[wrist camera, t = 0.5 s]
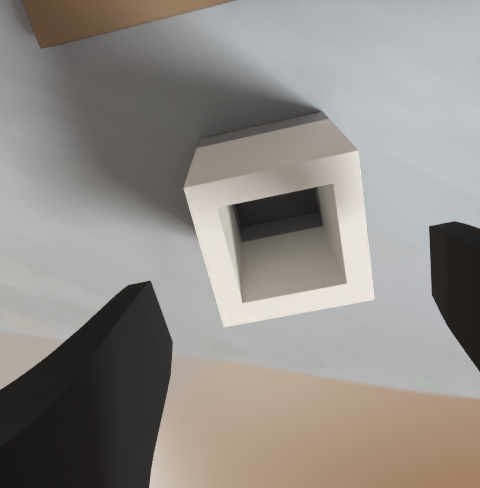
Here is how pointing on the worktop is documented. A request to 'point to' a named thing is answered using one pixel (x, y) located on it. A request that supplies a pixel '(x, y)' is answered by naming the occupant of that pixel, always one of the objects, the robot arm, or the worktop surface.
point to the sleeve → (281, 220)
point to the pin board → (100, 16)
